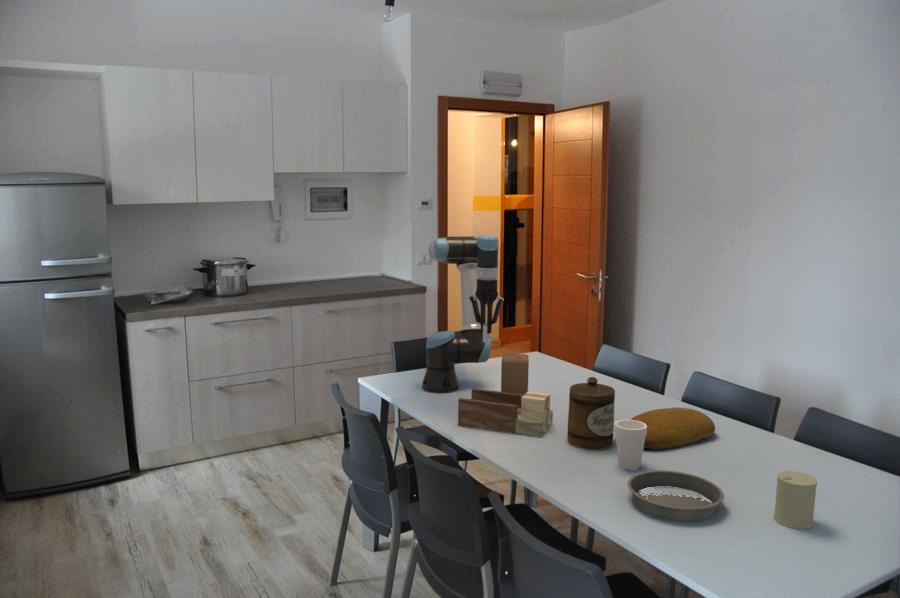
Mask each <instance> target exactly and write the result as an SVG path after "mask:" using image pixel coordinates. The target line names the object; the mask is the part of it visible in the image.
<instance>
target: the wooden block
mask: <svg viewBox="0 0 900 598" xmlns="http://www.w3.org/2000/svg"><path fill="white" fill-rule="evenodd" d="M529 358H530V357H529V355H528V354H525V353H503V354H502V356H501V365H500V366H501V367H500V368H501V371H500V372H501V373H500V374H501V376H500V380H501V382H500V392H508V393H516V394H524V395H525V394H526V393H527V392H528V391H529V366H530V365H529V361H530V360H529Z"/></svg>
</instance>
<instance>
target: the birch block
mask: <svg viewBox="0 0 900 598" xmlns="http://www.w3.org/2000/svg"><path fill="white" fill-rule="evenodd" d="M550 410H551V393H545V392H537V391H529V390H528V392H527V393H526V394H525V395H524V396H522V397H521V417H524V418H531V419H538V420H544V419H545V418H546V417H547V416H548V415H549V414H550Z"/></svg>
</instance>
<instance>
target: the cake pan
mask: <svg viewBox="0 0 900 598" xmlns="http://www.w3.org/2000/svg"><path fill="white" fill-rule="evenodd" d="M655 486H671V487H670V488H673V487H678V488H677V489H681V488H682V489H681V490H685V489H687V490H686V491H689V490H691V491H690V492H692V491H694V492H693V493H695V492H697V493H696V494H698V493H699V494H698V495H700V494H701V495H700V496H702V495H703V496H704V497H706V498H707V499H709V500H710V501H711V502H712V503H710V502H708V501H706V500H704V501H700V500H701V499H702V498H700V497H698V498H696V499H695V498H693V497H691V496H690V497H685V495H682V494H681V495H682V497H680V496H678V495H676V496H673V495H672V494H671V495H670V496H669V495H667V494H665V495H663V494H660V495H662V496H660V495H659V496H656V495H654V496H653V495H651V494H654V493H651V494H650V495H648V494H647V495H648V497H647V496H646V495H645V496H642V495H641V494H640V493H639V492H641V491H639V490H641V489H644V488H647V487H655ZM627 488H628V490H629V491H630V493H631V495H632V500H633V503H634V504H635V506H636V507H637V508H639V509H640V510H641V511H643V512H645V513H647V514H649V515H652V516H653V517H654V516H655V517H657V518H661V519H664V520H670V521H675V522H697V521H702V520H707V519H708V518H711V517H712V516H713V515H715V513H716V511H717V509H718V505H720V504H721V503H722V502H723V500H724V498H725V494H724V492H723V490H722V489H721V488H720V487H719V486H718V485H717V484H715V483H714V482H712V481H709V480H708V479H706V478H703V477H701V476H698V475H694V474H691V473H686V472H681V471H675V470H647V471H643V472H639V473H636V474H634V475H633V476H630V477H629V479H628V481H627ZM655 488H656V487H655ZM637 493H638V494H637ZM663 493H664V492H663ZM670 493H671V492H669V494H670ZM672 493H673V494H676V492H675V493H674V492H672ZM642 494H643V493H642ZM656 494H657V493H656ZM646 498H648V499H646ZM710 504H711V505H710Z"/></svg>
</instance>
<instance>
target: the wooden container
mask: <svg viewBox="0 0 900 598" xmlns="http://www.w3.org/2000/svg"><path fill="white" fill-rule="evenodd" d="M598 381H599V380H598V378H596V377H594V376H591V377H590V376H589V377H587V379H586V382H581V383H575V384H572V385H571V386H569V395H568V397H569V400H568V414H567V415H568V416H567V435H566V437H567V438H566V440H567V442H568V443H569V444H570V445H571V444H572V446H573V445H574V447H576V448H579V447H580V449H583V448H584V450H593V449H595V450H604V449H608V448H610V447H611V446H612V445H613V441H614V432H615V397H616V395H615V394H616V389H614V388H613V387H612V386H609V385H605V384H601V383H599V382H598Z"/></svg>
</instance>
